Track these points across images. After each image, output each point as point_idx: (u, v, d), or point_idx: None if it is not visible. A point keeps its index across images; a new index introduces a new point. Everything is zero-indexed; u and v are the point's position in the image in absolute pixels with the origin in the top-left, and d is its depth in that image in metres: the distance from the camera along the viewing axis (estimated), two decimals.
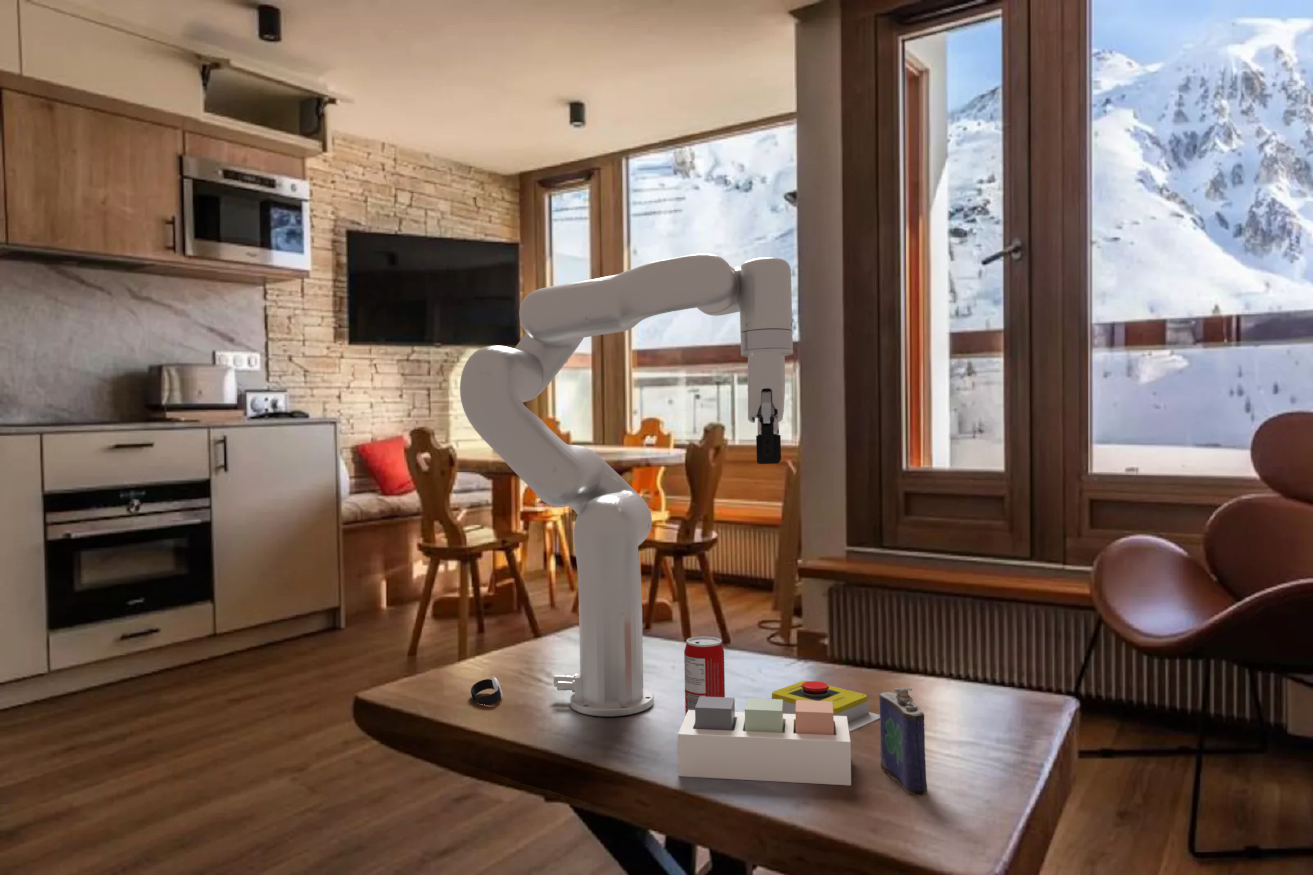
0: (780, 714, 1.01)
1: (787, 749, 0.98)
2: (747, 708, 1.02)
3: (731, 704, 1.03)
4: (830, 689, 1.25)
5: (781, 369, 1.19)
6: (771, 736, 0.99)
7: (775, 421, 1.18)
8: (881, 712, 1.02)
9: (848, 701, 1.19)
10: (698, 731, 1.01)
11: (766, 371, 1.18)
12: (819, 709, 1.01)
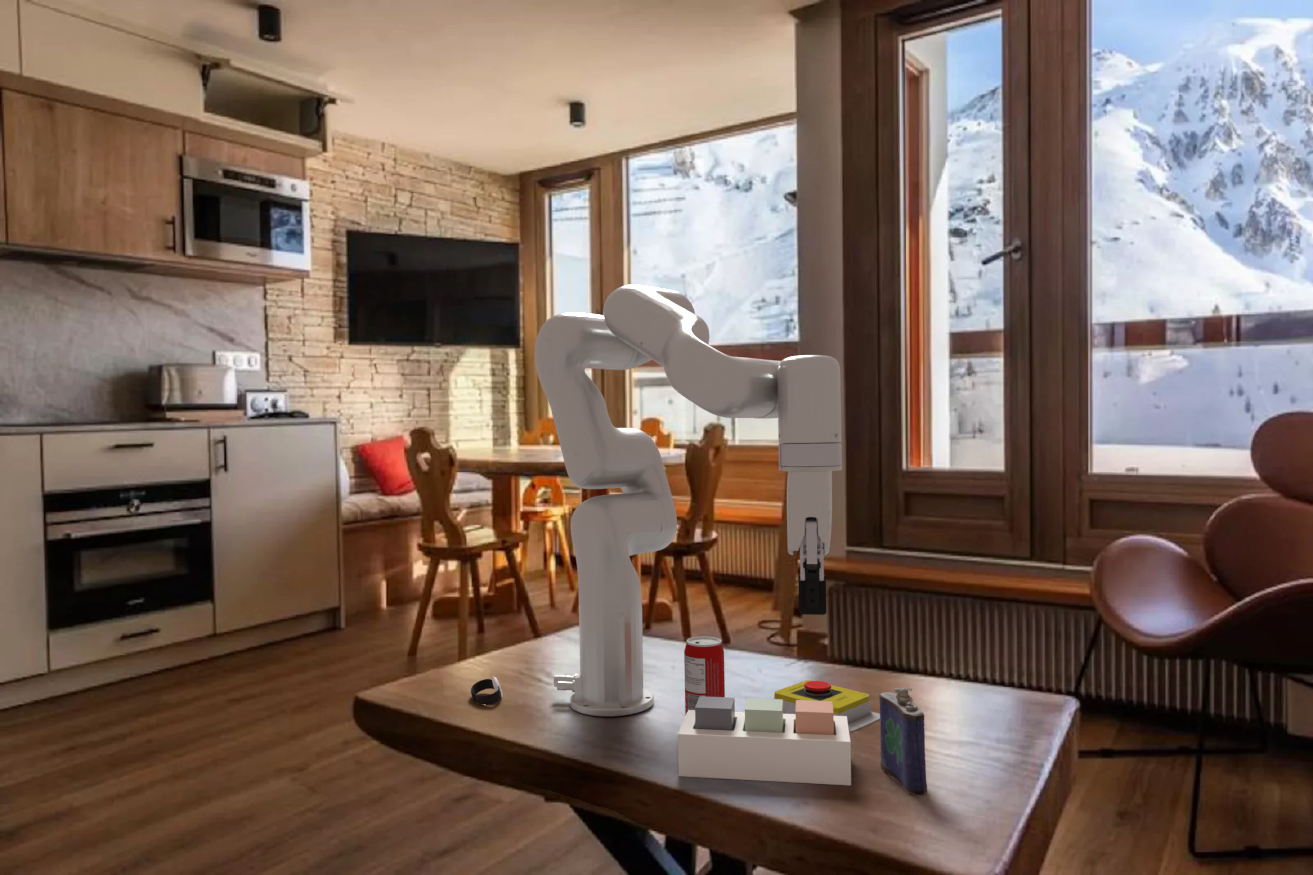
0: (780, 714, 1.01)
1: (787, 749, 0.98)
2: (747, 708, 1.02)
3: (731, 704, 1.03)
4: (832, 689, 1.25)
5: (829, 493, 0.98)
6: (771, 736, 0.99)
7: (821, 566, 0.99)
8: (881, 712, 1.02)
9: (851, 701, 1.19)
10: (698, 731, 1.01)
11: (811, 496, 0.97)
12: (819, 709, 1.01)
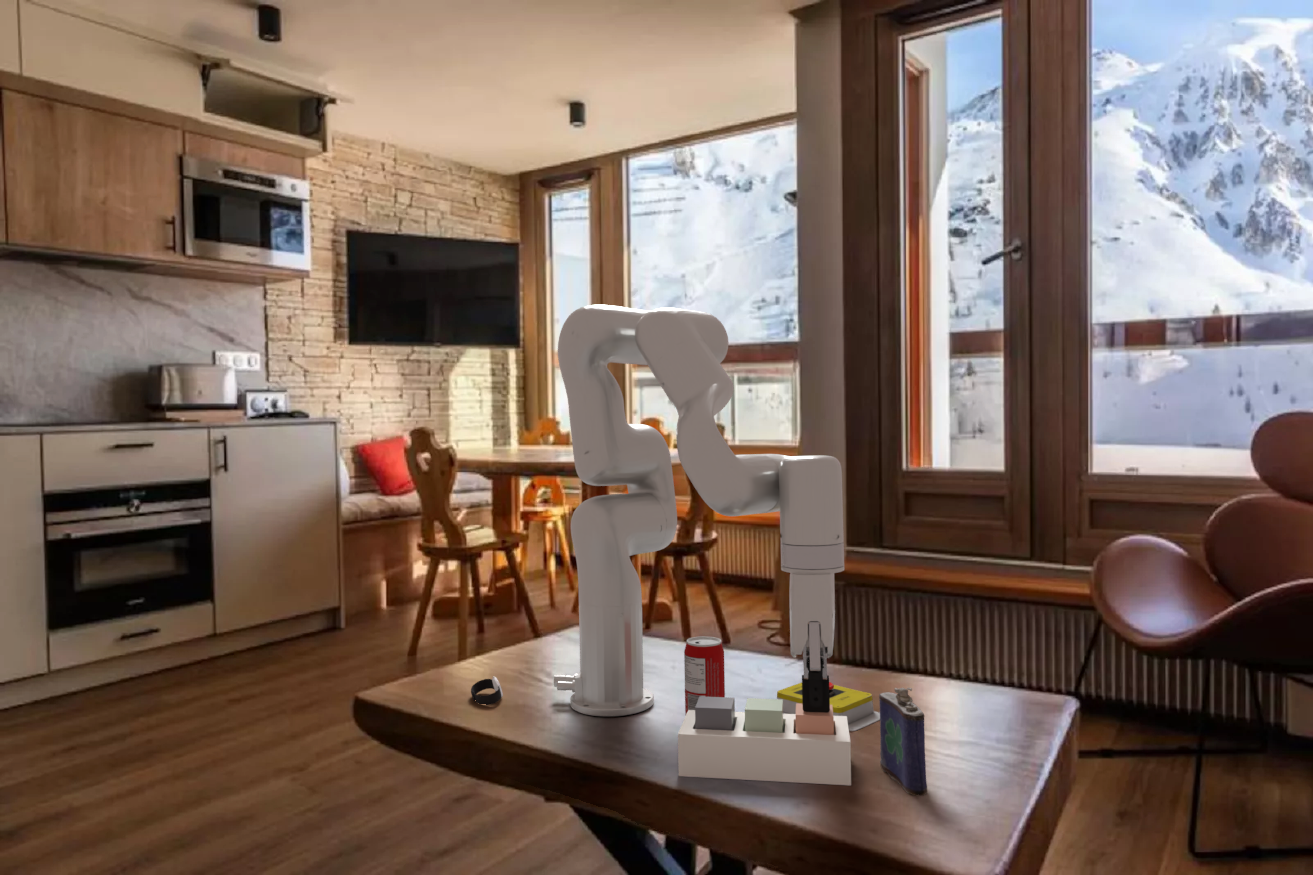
0: (780, 714, 1.01)
1: (787, 749, 0.98)
2: (747, 708, 1.02)
3: (731, 704, 1.03)
4: (835, 688, 1.25)
5: (831, 596, 0.98)
6: (771, 736, 0.99)
7: (824, 667, 1.00)
8: (881, 712, 1.02)
9: (853, 700, 1.20)
10: (698, 731, 1.01)
11: (813, 600, 0.97)
12: (819, 712, 1.01)
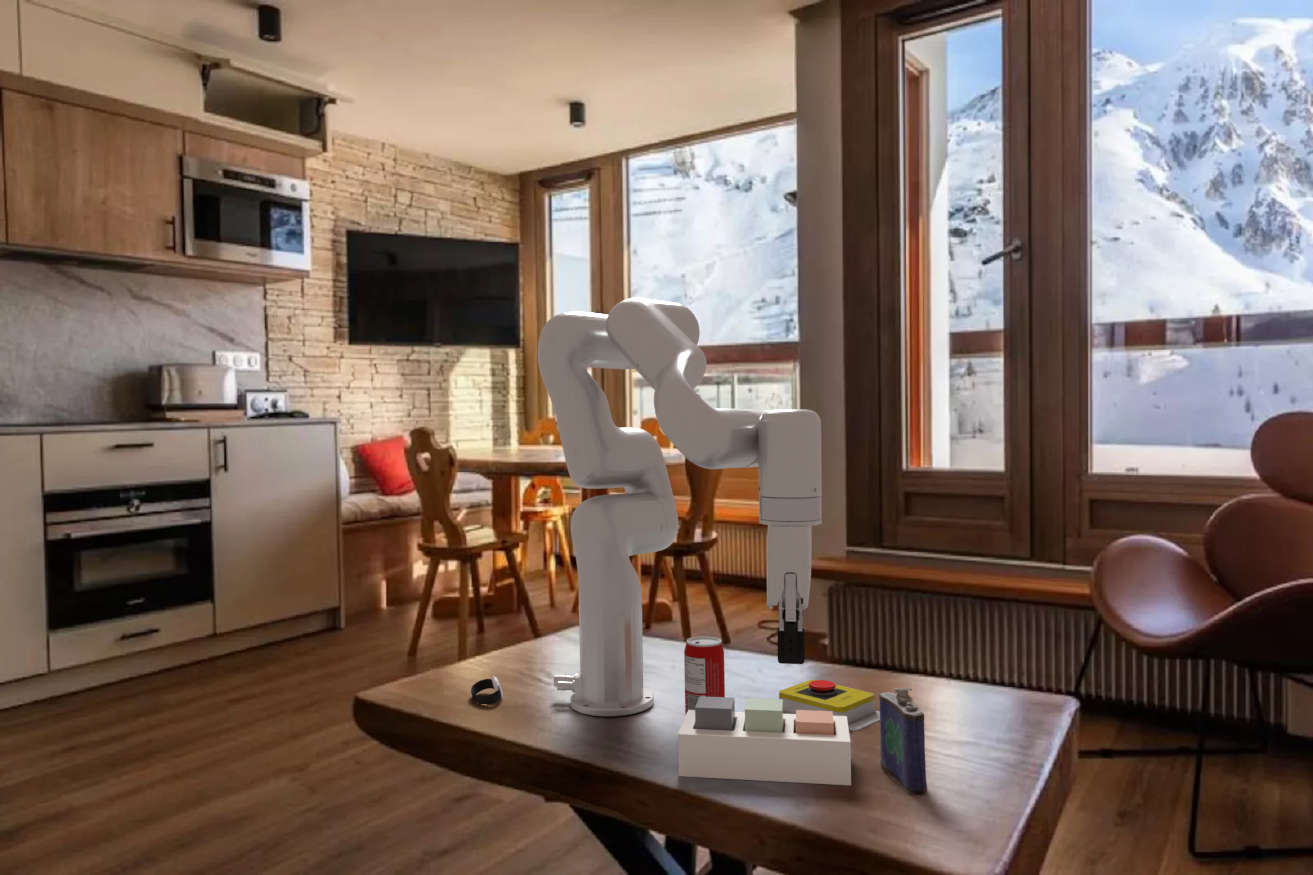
0: (780, 714, 1.01)
1: (787, 749, 0.98)
2: (747, 708, 1.02)
3: (731, 704, 1.03)
4: (837, 688, 1.25)
5: (808, 548, 0.99)
6: (771, 736, 0.99)
7: (800, 619, 1.01)
8: (881, 712, 1.02)
9: (855, 700, 1.20)
10: (698, 731, 1.01)
11: (790, 551, 0.98)
12: (819, 719, 1.01)
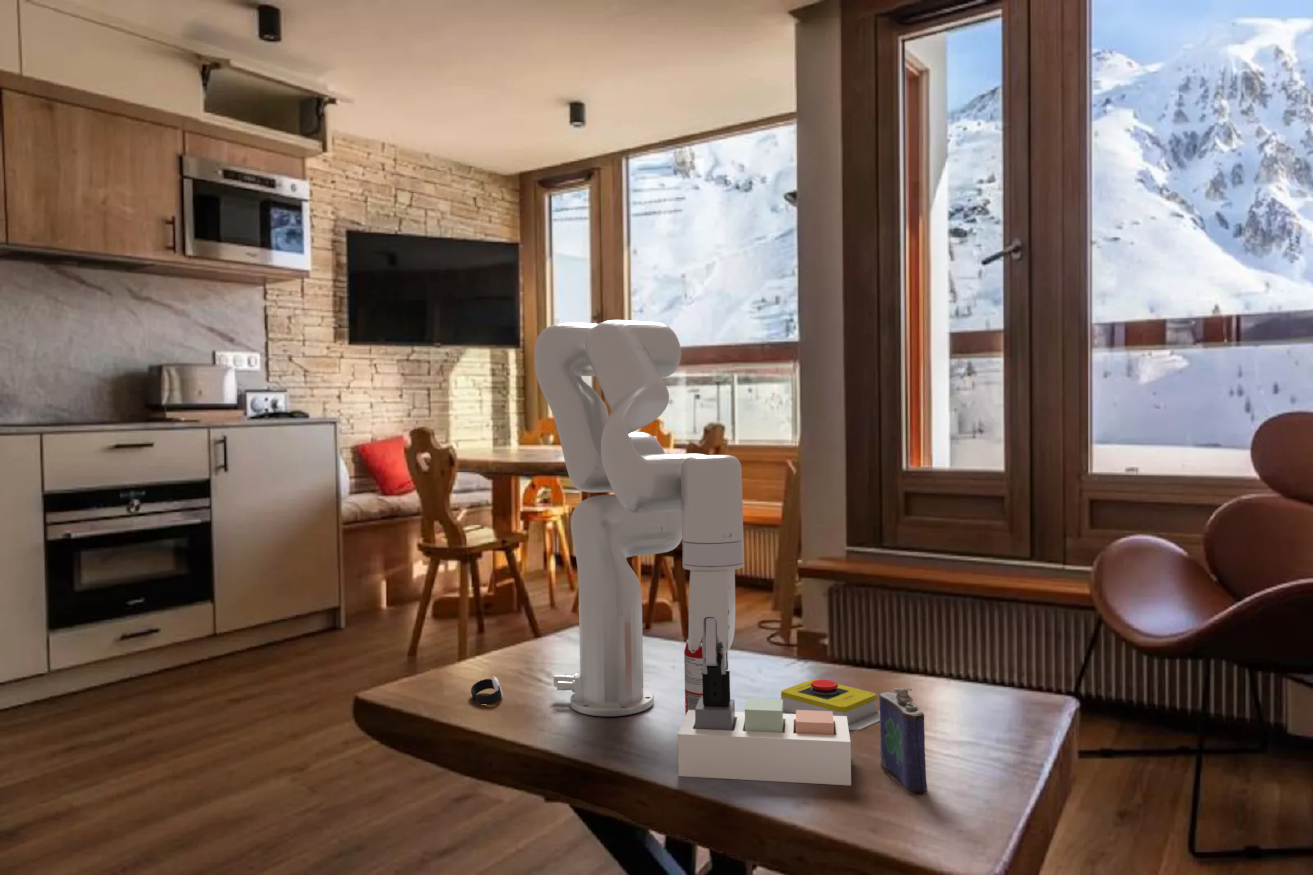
0: (780, 714, 1.01)
1: (787, 749, 0.98)
2: (747, 708, 1.02)
3: (731, 706, 1.03)
4: (839, 688, 1.26)
5: (728, 592, 1.00)
6: (771, 736, 0.99)
7: (723, 663, 1.02)
8: (881, 712, 1.02)
9: (858, 699, 1.20)
10: (698, 731, 1.01)
11: (709, 596, 0.99)
12: (819, 719, 1.01)
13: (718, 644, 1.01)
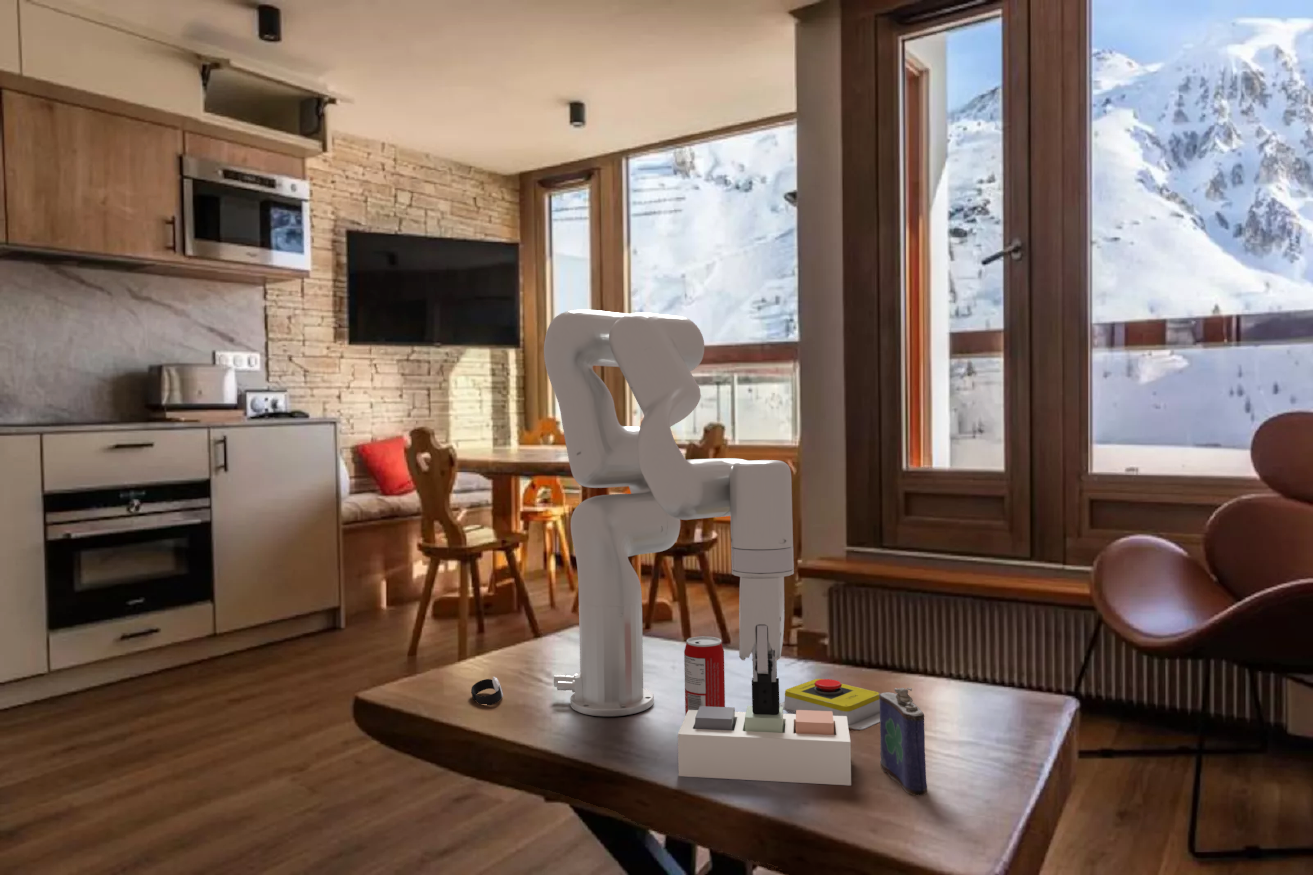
0: (780, 722, 1.01)
1: (787, 749, 0.98)
2: (748, 716, 1.02)
3: (731, 714, 1.03)
4: (843, 687, 1.26)
5: (779, 599, 0.99)
6: (771, 736, 0.99)
7: (773, 670, 1.01)
8: (881, 712, 1.02)
9: (861, 699, 1.20)
10: (698, 731, 1.01)
11: (761, 603, 0.98)
12: (819, 719, 1.01)
13: (769, 651, 1.00)
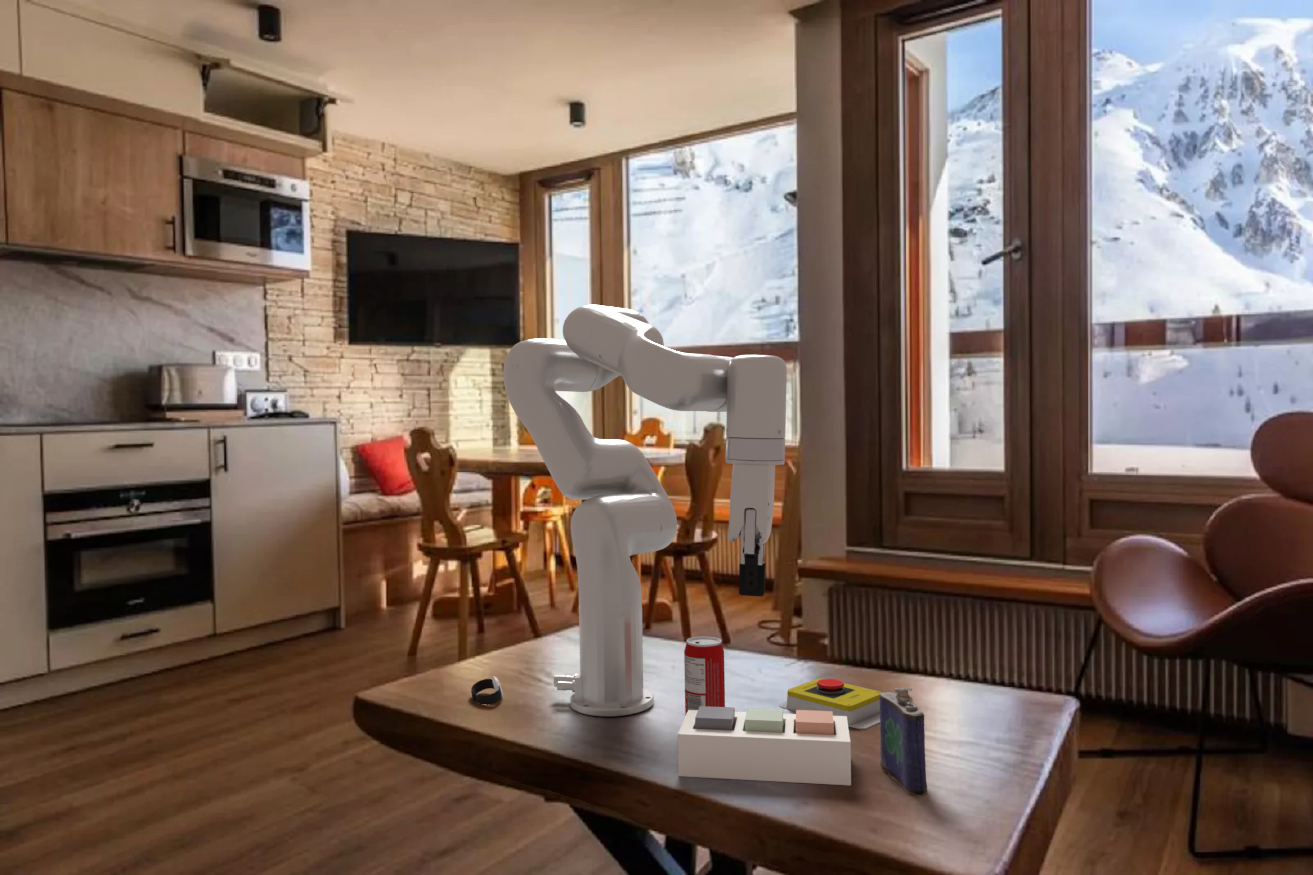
0: (780, 724, 1.01)
1: (787, 749, 0.98)
2: (748, 718, 1.02)
3: (731, 714, 1.03)
4: (845, 687, 1.26)
5: (768, 486, 1.04)
6: (771, 736, 0.99)
7: (760, 553, 1.07)
8: (881, 712, 1.02)
9: (864, 698, 1.20)
10: (698, 731, 1.01)
11: (751, 488, 1.04)
12: (819, 719, 1.01)
13: (756, 535, 1.06)
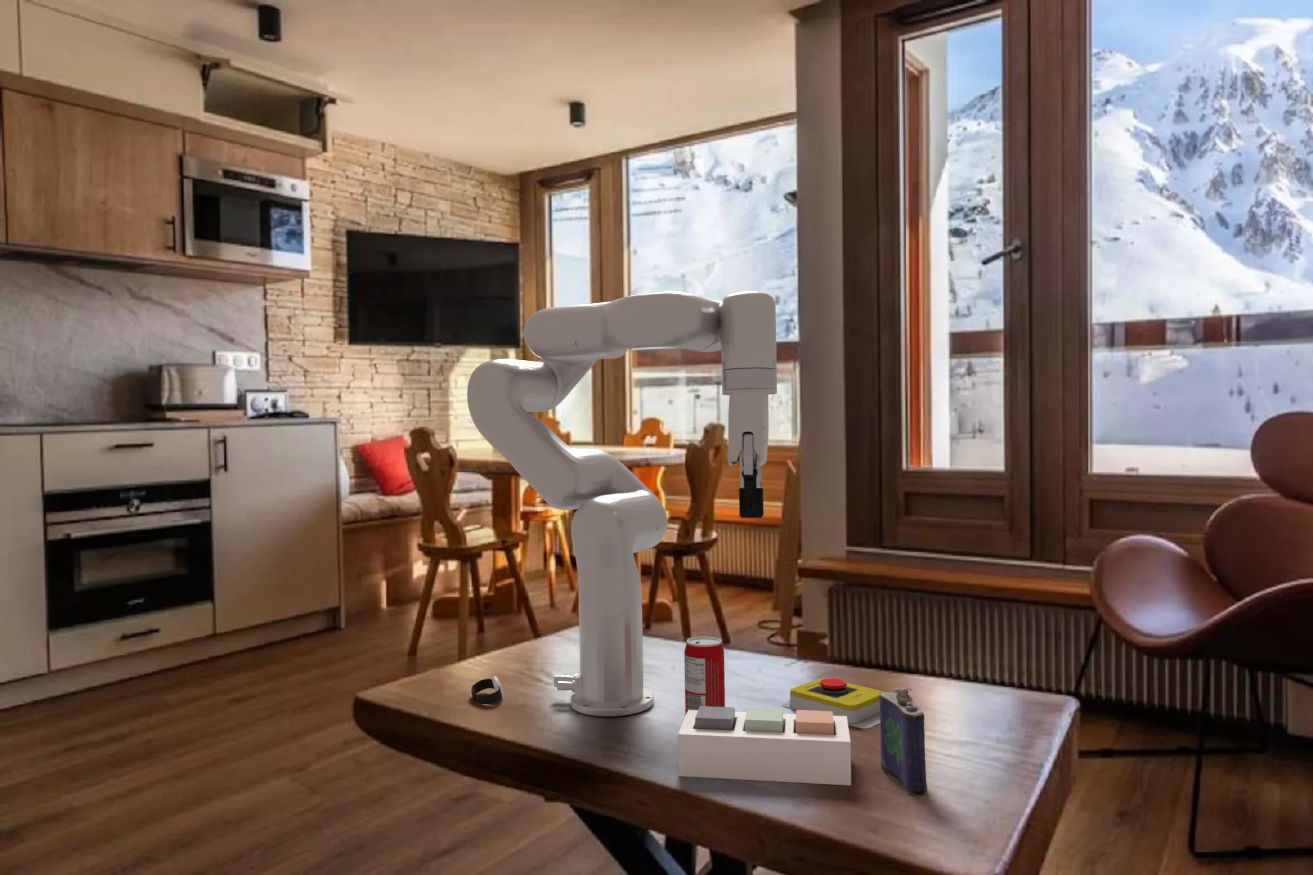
0: (780, 724, 1.01)
1: (787, 749, 0.98)
2: (748, 718, 1.02)
3: (731, 714, 1.03)
4: (848, 686, 1.26)
5: (763, 411, 1.12)
6: (771, 736, 0.99)
7: (758, 476, 1.14)
8: (881, 712, 1.02)
9: (866, 698, 1.21)
10: (698, 731, 1.01)
11: (747, 413, 1.12)
12: (819, 719, 1.01)
13: (754, 458, 1.13)
